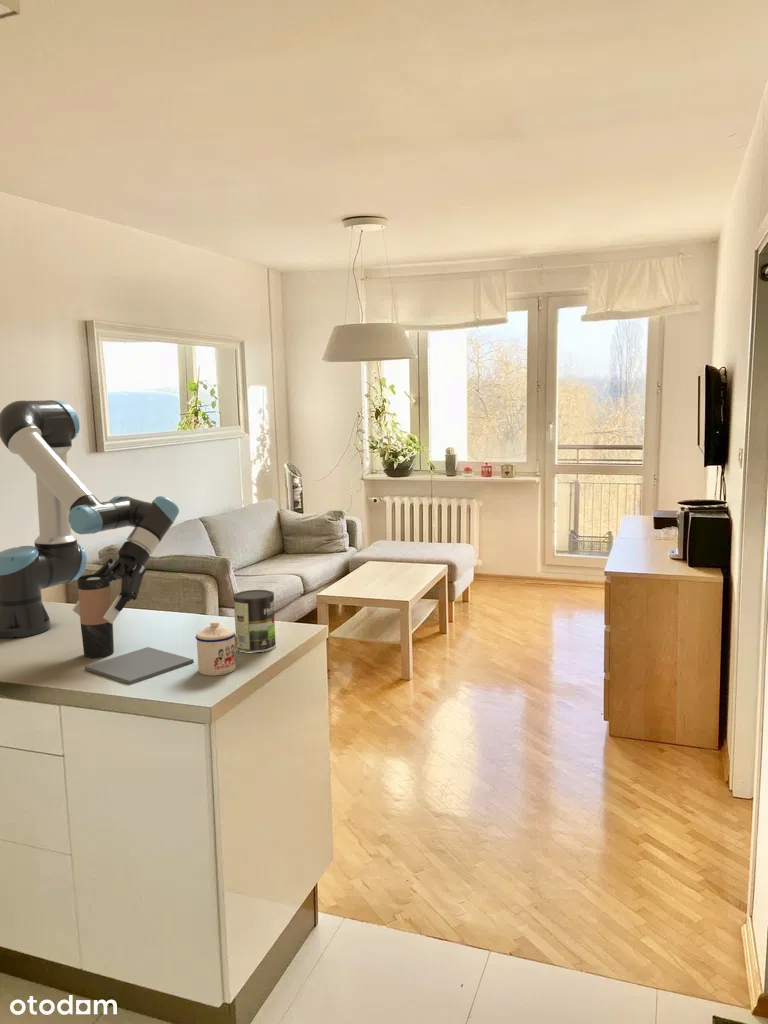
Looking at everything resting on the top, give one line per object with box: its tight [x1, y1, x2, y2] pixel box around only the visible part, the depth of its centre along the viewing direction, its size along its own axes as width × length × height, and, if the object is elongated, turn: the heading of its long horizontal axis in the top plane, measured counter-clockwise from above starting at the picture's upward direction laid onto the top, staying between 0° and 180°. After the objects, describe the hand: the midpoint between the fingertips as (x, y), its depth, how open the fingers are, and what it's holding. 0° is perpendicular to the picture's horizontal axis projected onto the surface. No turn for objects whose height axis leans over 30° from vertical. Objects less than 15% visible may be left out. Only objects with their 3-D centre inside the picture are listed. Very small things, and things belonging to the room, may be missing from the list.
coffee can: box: [232, 589, 277, 653], centre depth 199 cm, size 10×10×14 cm
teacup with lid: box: [195, 620, 239, 677], centre depth 184 cm, size 12×9×12 cm
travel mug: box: [77, 573, 115, 659], centre depth 196 cm, size 8×8×20 cm
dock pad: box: [84, 646, 194, 685], centre depth 188 cm, size 18×18×1 cm
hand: (91, 616), depth 195 cm, fingers open, 13 cm apart
